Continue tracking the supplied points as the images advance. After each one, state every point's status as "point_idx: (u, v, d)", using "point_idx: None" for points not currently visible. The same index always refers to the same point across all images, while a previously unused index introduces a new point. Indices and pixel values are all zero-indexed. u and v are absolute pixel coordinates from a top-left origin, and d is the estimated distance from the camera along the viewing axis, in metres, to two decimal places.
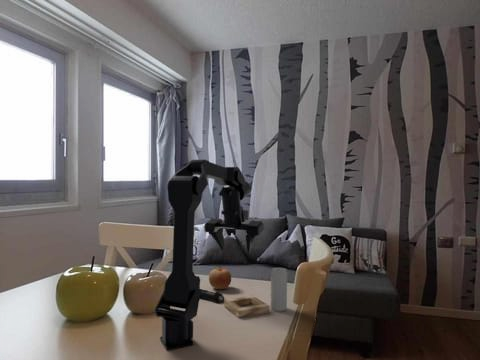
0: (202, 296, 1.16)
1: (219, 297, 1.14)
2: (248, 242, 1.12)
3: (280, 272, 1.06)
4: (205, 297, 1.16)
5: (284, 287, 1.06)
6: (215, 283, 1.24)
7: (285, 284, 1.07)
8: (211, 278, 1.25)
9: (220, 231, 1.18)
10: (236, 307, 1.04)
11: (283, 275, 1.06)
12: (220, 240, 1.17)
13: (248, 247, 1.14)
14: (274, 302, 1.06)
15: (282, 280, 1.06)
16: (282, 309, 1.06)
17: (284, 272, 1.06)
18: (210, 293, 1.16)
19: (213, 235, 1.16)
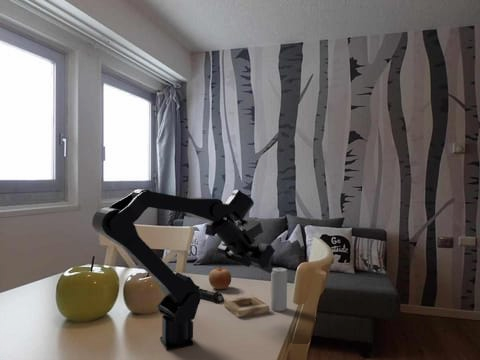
0: (202, 296, 1.17)
1: (218, 297, 1.14)
2: (261, 269, 0.96)
3: (280, 272, 1.06)
4: (205, 297, 1.16)
5: (284, 287, 1.06)
6: (215, 283, 1.24)
7: (285, 284, 1.07)
8: (211, 278, 1.25)
9: None
10: (236, 307, 1.04)
11: (283, 275, 1.06)
12: (240, 260, 1.04)
13: (265, 271, 0.97)
14: (274, 302, 1.06)
15: (282, 280, 1.06)
16: (282, 309, 1.06)
17: (284, 272, 1.06)
18: (210, 293, 1.16)
19: (229, 259, 1.04)
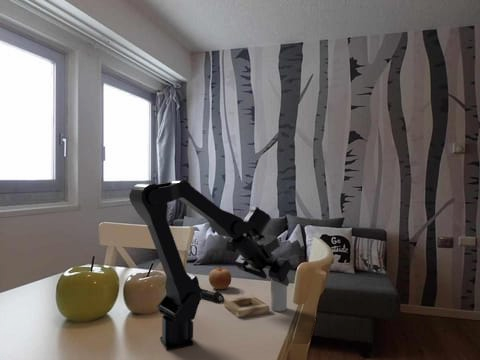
0: (202, 296, 1.17)
1: (219, 297, 1.14)
2: (279, 282, 1.00)
3: None
4: (205, 297, 1.16)
5: (284, 287, 1.06)
6: (215, 283, 1.24)
7: None
8: (211, 278, 1.25)
9: None
10: (236, 307, 1.04)
11: None
12: (257, 273, 1.09)
13: None
14: (274, 302, 1.06)
15: None
16: (282, 309, 1.06)
17: None
18: (210, 293, 1.16)
19: None
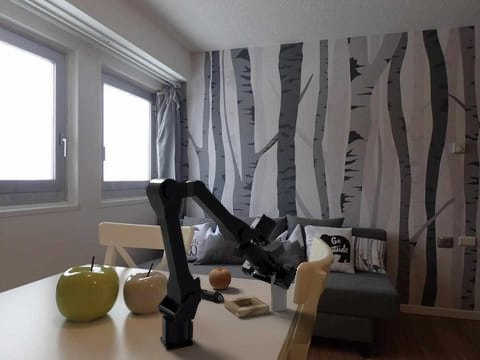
0: (202, 296, 1.17)
1: (218, 297, 1.14)
2: None
3: None
4: (205, 297, 1.16)
5: None
6: (215, 283, 1.24)
7: None
8: (211, 278, 1.25)
9: None
10: (236, 307, 1.04)
11: None
12: (267, 280, 1.09)
13: None
14: (274, 302, 1.06)
15: None
16: (282, 309, 1.06)
17: None
18: (210, 293, 1.16)
19: None
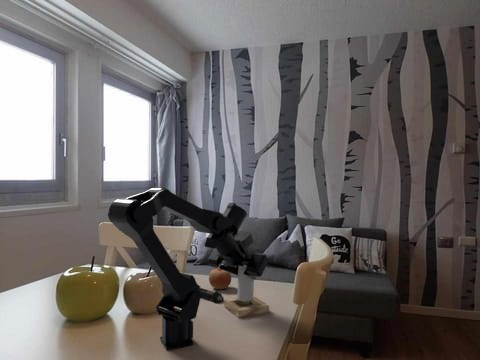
0: (202, 295, 1.17)
1: (218, 297, 1.14)
2: (249, 276, 1.03)
3: None
4: (205, 296, 1.16)
5: None
6: (215, 283, 1.24)
7: None
8: (211, 278, 1.25)
9: None
10: (236, 307, 1.04)
11: None
12: (234, 271, 1.07)
13: None
14: (242, 293, 1.05)
15: None
16: (249, 299, 1.06)
17: None
18: (210, 292, 1.16)
19: (224, 270, 1.06)
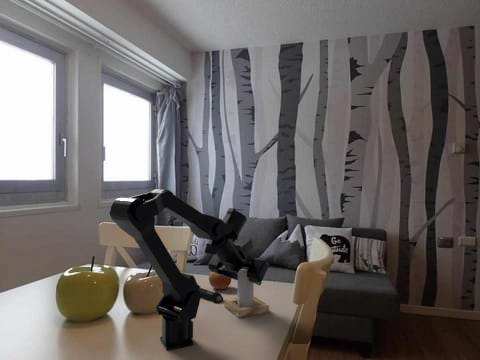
0: (202, 295, 1.17)
1: (217, 297, 1.14)
2: (254, 282, 1.02)
3: None
4: (204, 296, 1.16)
5: (251, 286, 1.06)
6: (215, 283, 1.24)
7: (252, 283, 1.07)
8: (211, 278, 1.25)
9: None
10: (236, 307, 1.04)
11: None
12: (230, 275, 1.09)
13: None
14: (242, 302, 1.06)
15: None
16: None
17: None
18: (209, 293, 1.16)
19: (220, 274, 1.07)
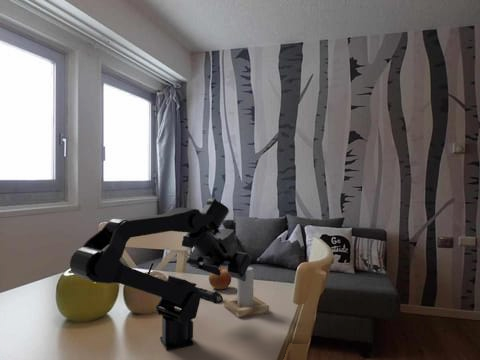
0: (201, 295, 1.17)
1: (217, 297, 1.14)
2: (237, 278, 0.95)
3: (247, 271, 1.06)
4: (204, 296, 1.16)
5: (251, 286, 1.06)
6: (215, 283, 1.24)
7: (252, 283, 1.07)
8: (211, 278, 1.25)
9: None
10: (236, 307, 1.04)
11: (250, 274, 1.06)
12: (211, 270, 1.02)
13: (240, 279, 0.97)
14: (242, 302, 1.06)
15: (249, 279, 1.06)
16: None
17: (251, 271, 1.06)
18: (209, 293, 1.16)
19: (200, 269, 1.01)
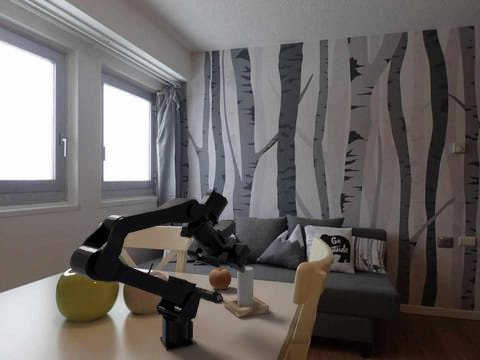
0: (201, 295, 1.17)
1: (217, 297, 1.14)
2: (236, 269, 0.95)
3: (247, 271, 1.05)
4: (204, 296, 1.17)
5: (251, 286, 1.06)
6: (215, 283, 1.24)
7: (252, 283, 1.07)
8: (211, 278, 1.25)
9: None
10: (236, 307, 1.04)
11: (250, 274, 1.06)
12: (210, 261, 1.02)
13: (239, 271, 0.96)
14: (242, 302, 1.06)
15: (250, 279, 1.06)
16: None
17: (251, 271, 1.06)
18: (209, 292, 1.16)
19: None
